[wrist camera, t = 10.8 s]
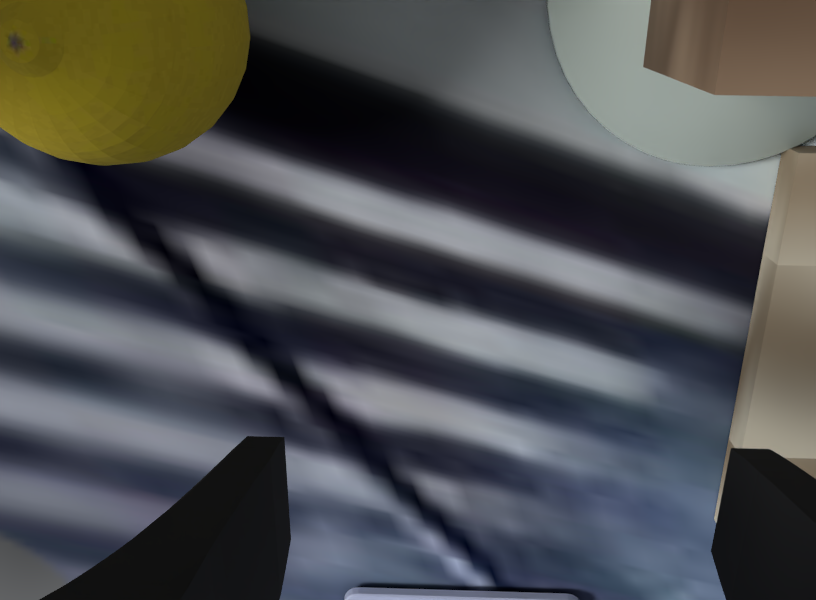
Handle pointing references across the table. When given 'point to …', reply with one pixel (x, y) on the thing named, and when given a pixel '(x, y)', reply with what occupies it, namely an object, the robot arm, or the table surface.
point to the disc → (665, 93)
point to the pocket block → (783, 327)
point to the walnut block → (735, 45)
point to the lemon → (118, 74)
